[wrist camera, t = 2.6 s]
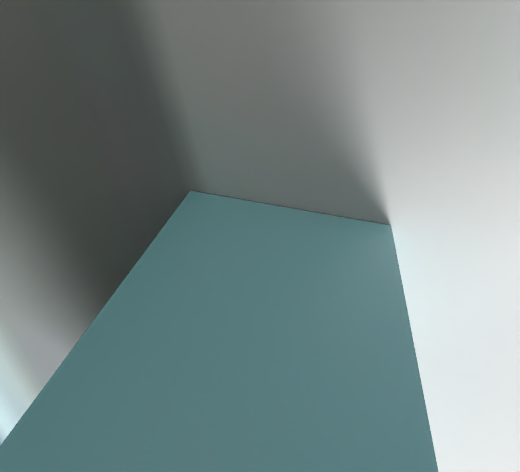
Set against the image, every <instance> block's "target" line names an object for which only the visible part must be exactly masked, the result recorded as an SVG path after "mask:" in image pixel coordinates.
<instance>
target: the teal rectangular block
mask: <svg viewBox="0 0 520 472" xmlns="http://www.w3.org/2000/svg"><path fill="white" fill-rule="evenodd" d="M0 472H438V468H437V462H436V457H435V452H434V447H433V442H432V436H431V431H430V426H429V421H428V416H427V410H426V405H425V400H424V395H423V390H422V384H421V379H420V374H419V369H418V363H417V358H416V353H415V348H414V343H413V337H412V332H411V327H410V322H409V317H408V311H407V306H406V301H405V296H404V291H403V285H402V280H401V275H400V270H399V265H398V259H397V254H396V249H395V244H394V239H393V233H392V228H391V225H386V224H380V223H374V222H368V221H362V220H357V219H351V218H345V217H339V216H334V215H328V214H322V213H316V212H311V211H305V210H299V209H293V208H288V207H282V206H276V205H270V204H264V203H259V202H253V201H247V200H241V199H236V198H230V197H224V196H218V195H213V194H207V193H201V192H195V191H190V192H189V193H188V194H187V196H186V197H185V198H184V200H183V201H182V202H181V204H180V205H179V206H178V208H177V209H176V210H175V212H174V213H173V214H172V216H171V217H170V218H169V220H168V221H167V223H166V224H165V225H164V227H163V228H162V229H161V231H160V232H159V233H158V235H157V236H156V237H155V239H154V240H153V241H152V243H151V244H150V245H149V247H148V248H147V249H146V251H145V252H144V253H143V255H142V256H141V257H140V259H139V260H138V261H137V263H136V264H135V266H134V267H133V268H132V270H131V271H130V272H129V274H128V275H127V276H126V278H125V279H124V280H123V282H122V283H121V284H120V286H119V287H118V288H117V290H116V291H115V292H114V294H113V295H112V296H111V298H110V299H109V300H108V302H107V303H106V305H105V306H104V307H103V309H102V310H101V311H100V313H99V314H98V315H97V317H96V318H95V319H94V321H93V322H92V323H91V325H90V326H89V327H88V329H87V330H86V331H85V333H84V334H83V335H82V337H81V338H80V339H79V341H78V342H77V343H76V345H75V346H74V348H73V349H72V350H71V352H70V353H69V354H68V356H67V357H66V358H65V360H64V361H63V362H62V364H61V365H60V366H59V368H58V369H57V370H56V372H55V373H54V374H53V376H52V377H51V378H50V380H49V381H48V382H47V384H46V385H45V386H44V388H43V389H42V391H41V392H40V393H39V395H38V396H37V397H36V399H35V400H34V401H33V403H32V404H31V405H30V407H29V408H28V409H27V411H26V412H25V413H24V415H23V416H22V417H21V419H20V420H19V421H18V423H17V424H16V425H15V427H14V428H13V429H12V431H11V432H10V434H9V435H8V436H7V438H6V439H5V440H4V442H3V443H2V444H1V446H0Z"/></svg>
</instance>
